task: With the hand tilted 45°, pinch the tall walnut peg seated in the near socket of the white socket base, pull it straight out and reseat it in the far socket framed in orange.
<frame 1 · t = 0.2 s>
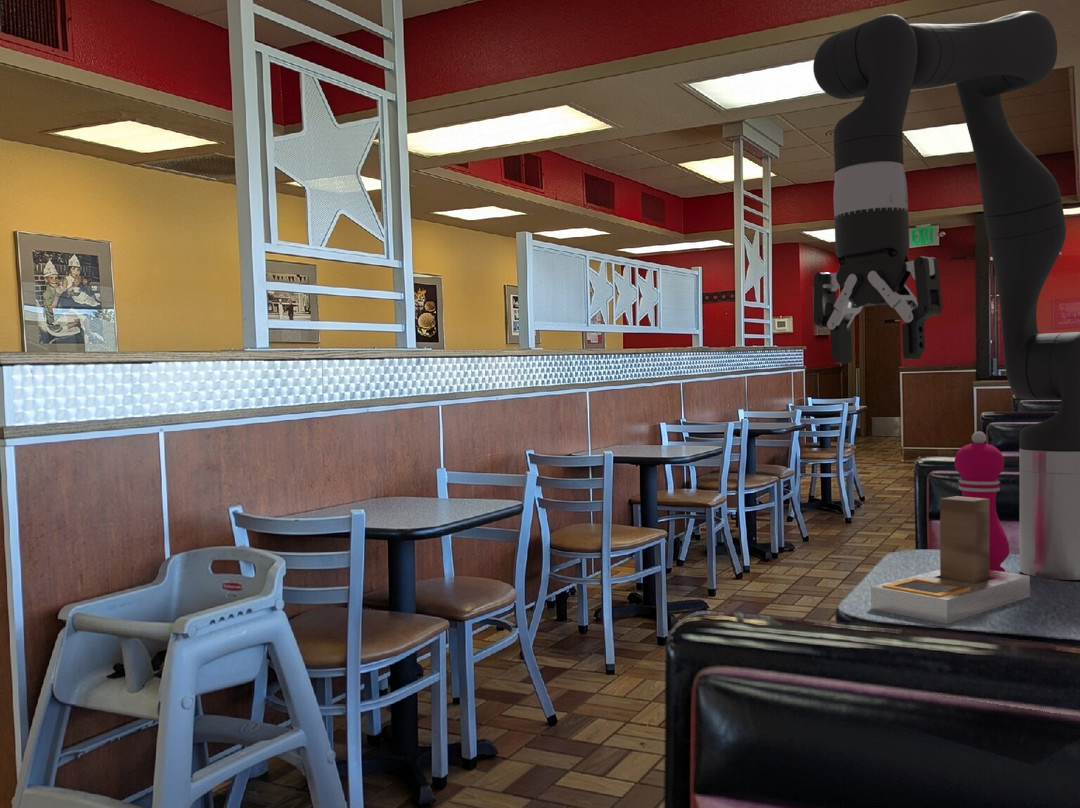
hand: (876, 361, 100), 29 cm above the table, tool pointing down, fingers open, 8 cm apart
pepper mill: (979, 582, 123), on the table
peg: (964, 598, 111), resting on white socket base
white socket base: (952, 606, 109), on the table
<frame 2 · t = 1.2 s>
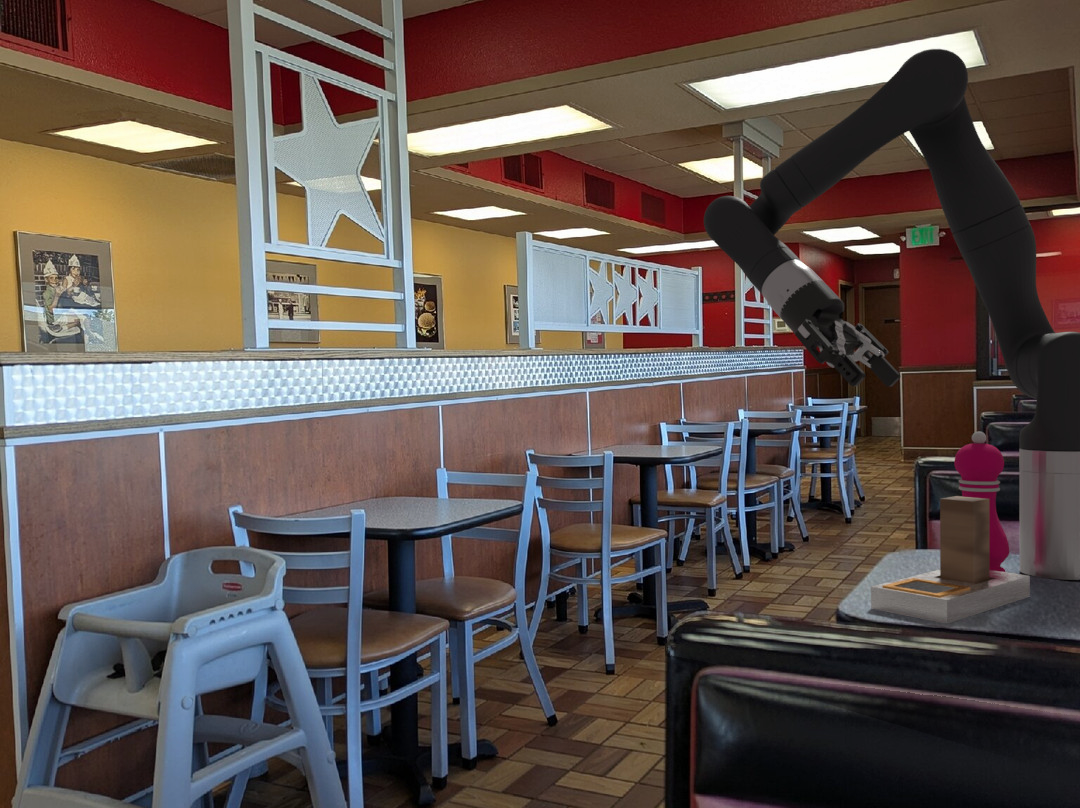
hand: (878, 381, 119), 27 cm above the table, tool tilted 45°, fingers open, 8 cm apart
nothing on the table moved.
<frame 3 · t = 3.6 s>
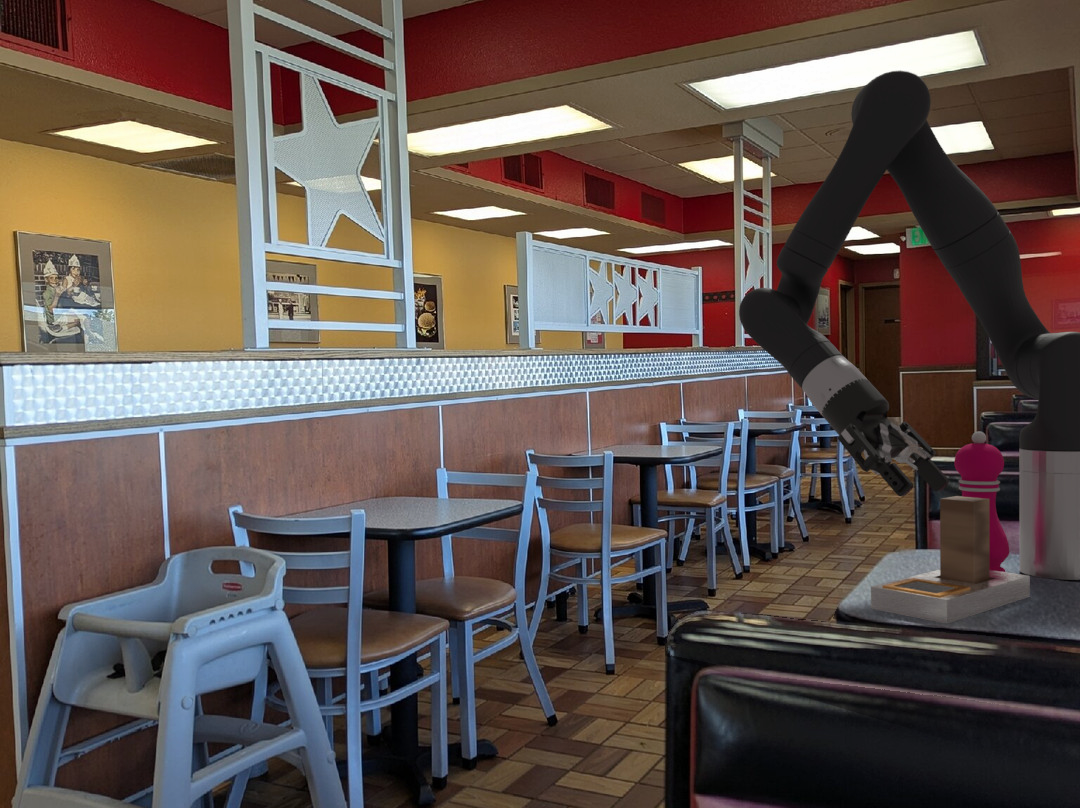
hand: (925, 489, 114), 13 cm above the table, tool tilted 45°, fingers open, 8 cm apart
nothing on the table moved.
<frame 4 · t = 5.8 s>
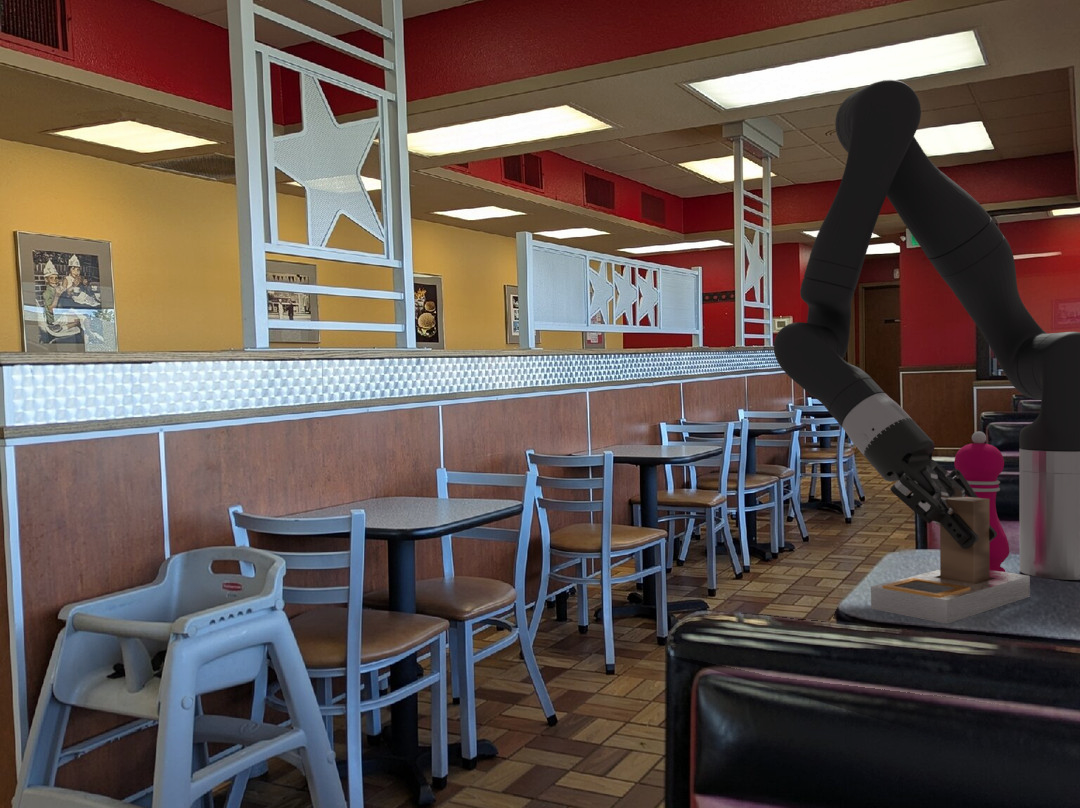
hand: (981, 541, 109), 8 cm above the table, tool tilted 45°, fingers closed on peg, 4 cm apart
peg: (964, 598, 111), point 1 cm above the table, touching gripper, white socket base
everything else where it was.
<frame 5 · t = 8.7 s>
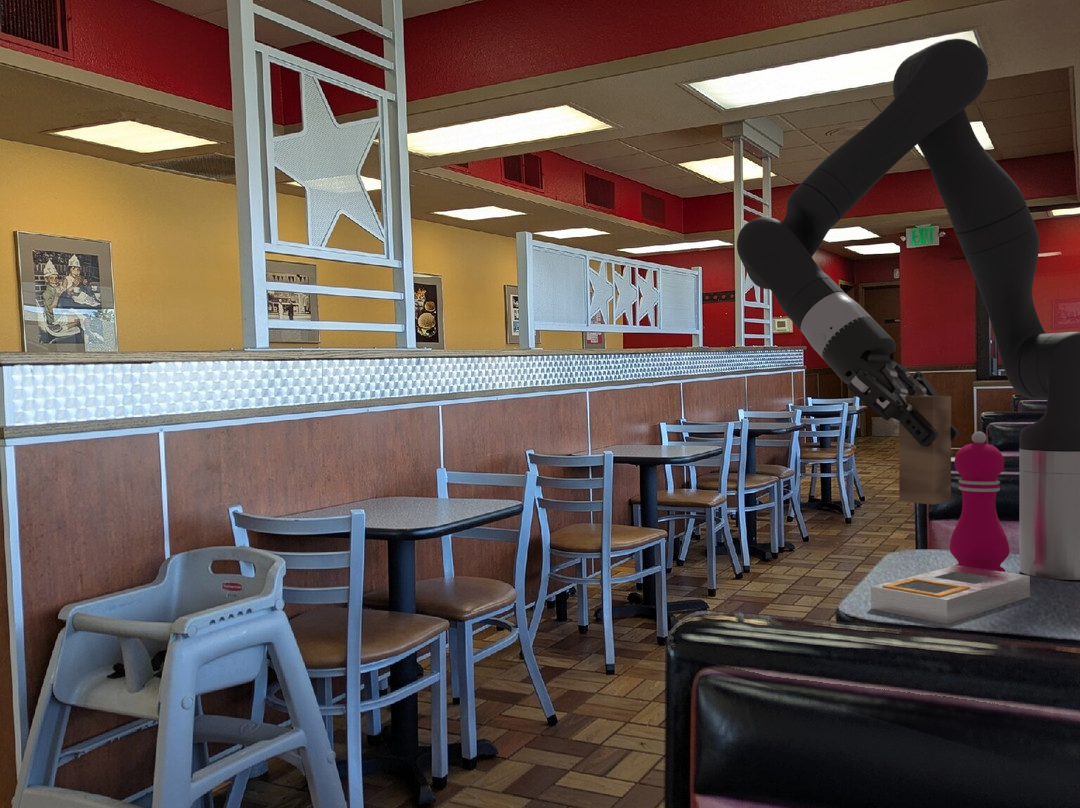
hand: (942, 440, 103), 20 cm above the table, tool tilted 45°, fingers closed on peg, 4 cm apart
peg: (925, 501, 105), point 13 cm above the table, touching gripper
everything else where it was.
when the fingers open (9 cm above the table, at t = 11.5 s): peg drops 2 cm, resting on white socket base.
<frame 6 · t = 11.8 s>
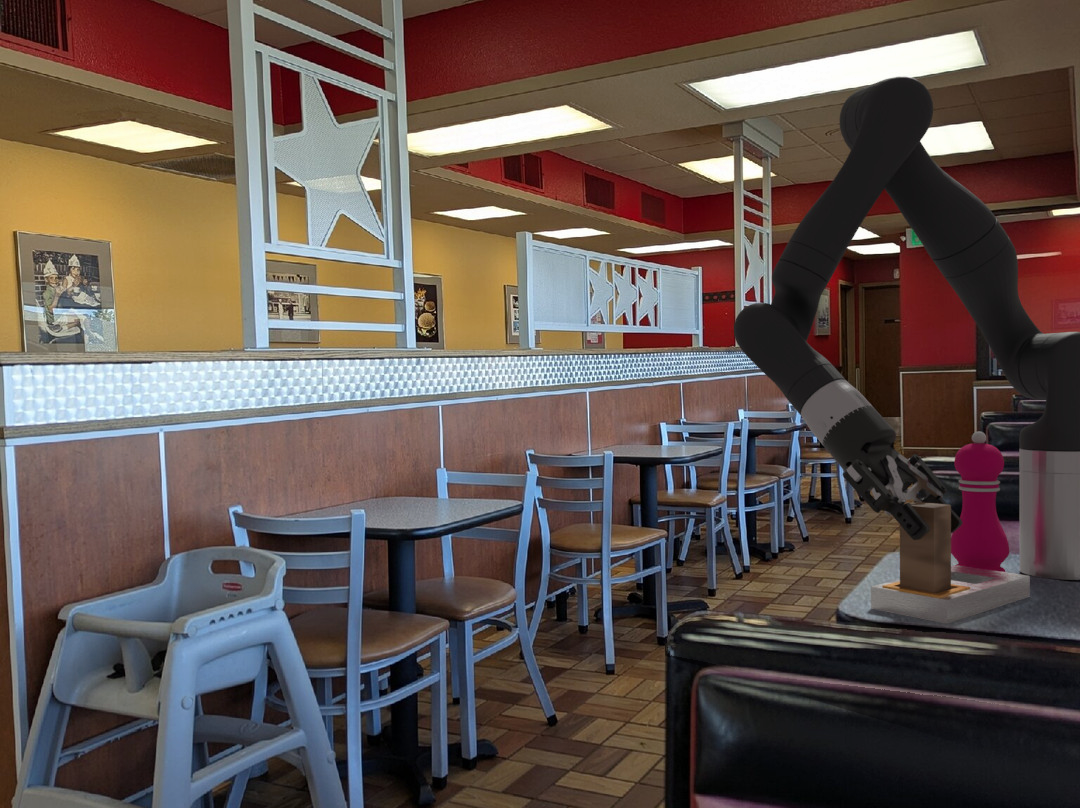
hand: (939, 531, 104), 10 cm above the table, tool tilted 45°, fingers open, 6 cm apart
peg: (925, 609, 105), resting on white socket base
everything else where it was.
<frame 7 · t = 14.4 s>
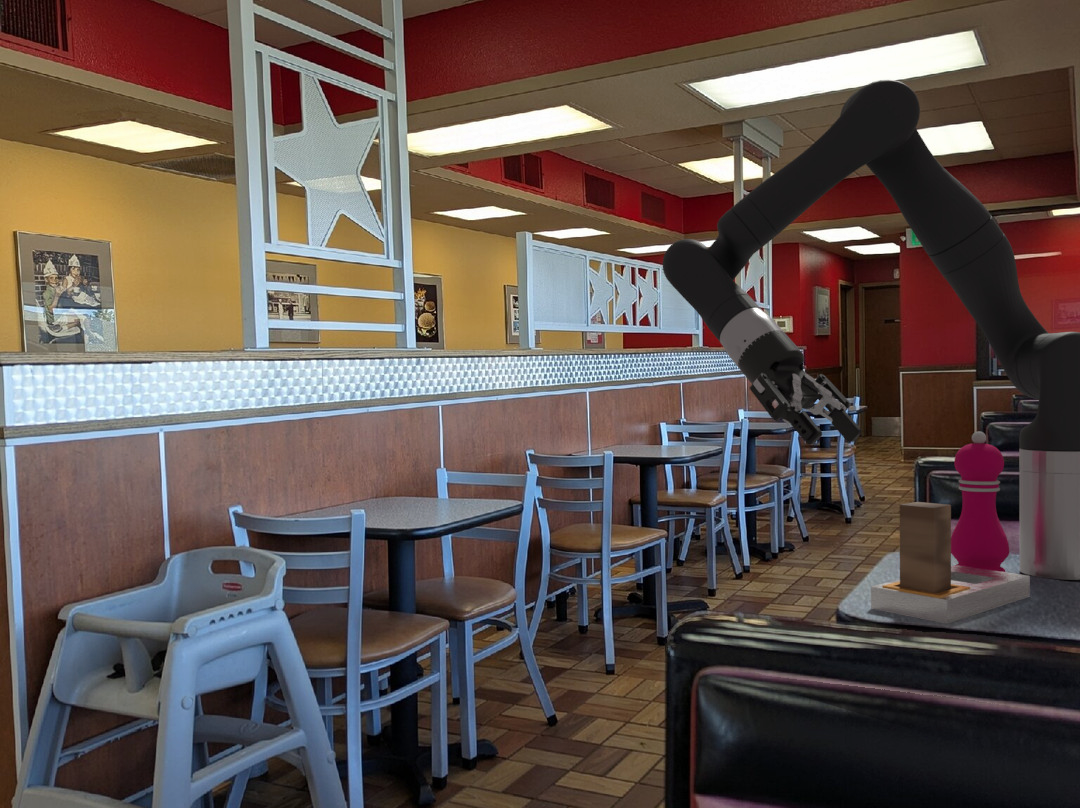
hand: (836, 438, 114), 20 cm above the table, tool tilted 45°, fingers open, 8 cm apart
nothing on the table moved.
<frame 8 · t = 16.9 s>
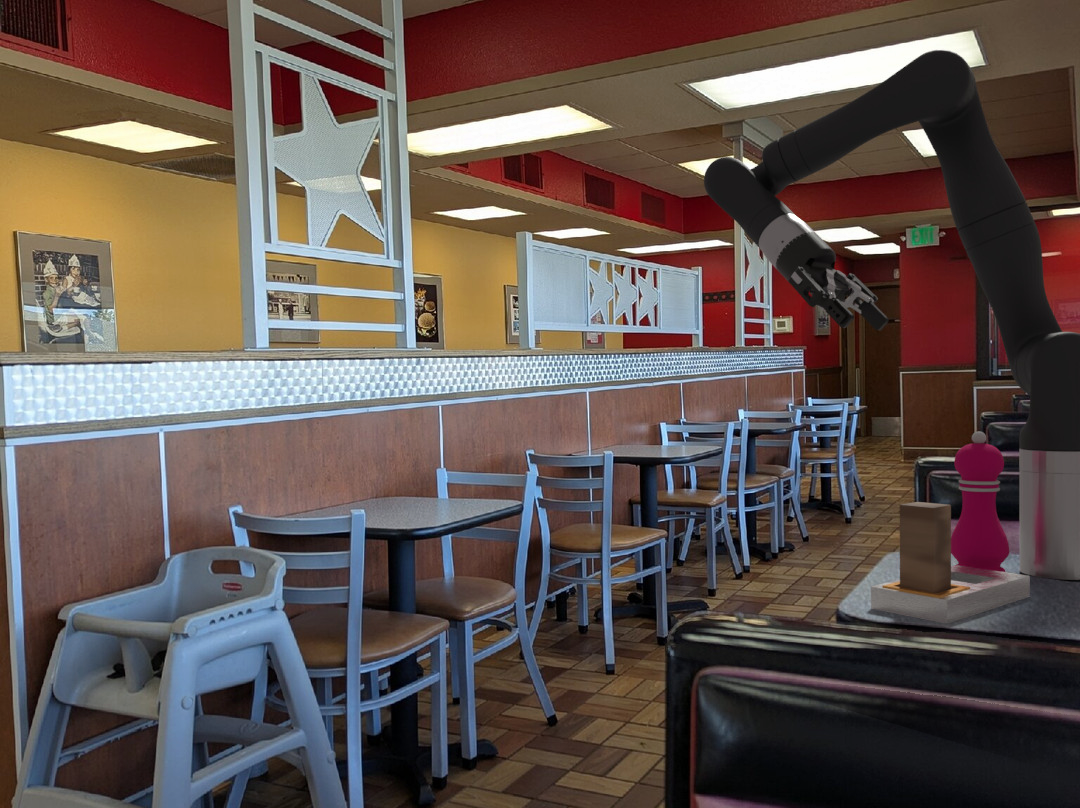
hand: (866, 324, 127), 35 cm above the table, tool tilted 45°, fingers open, 8 cm apart
nothing on the table moved.
at the end: peg 0.1 cm from the target spot on the white socket base, point 0.5 cm above the white socket base's base; peg tilted 0°; the gripper is holding nothing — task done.
